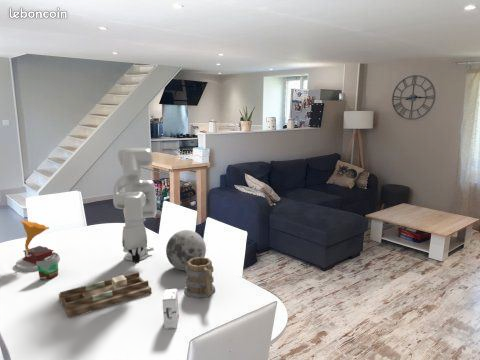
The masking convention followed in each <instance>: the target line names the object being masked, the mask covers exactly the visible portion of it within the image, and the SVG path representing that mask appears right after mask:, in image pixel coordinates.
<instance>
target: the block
mask: <svg viewBox="0 0 480 360" xmlns="http://www.w3.org/2000/svg"><path fill="white" fill-rule="evenodd" d="M111 279H112V287H113V288H114V289H118V288H122V287H125V286H127V279H126V278H125V277H124V275H123V274H122V275H118V276H115V277H114V276H113V277H111Z"/></svg>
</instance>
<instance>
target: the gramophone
mask: <svg viewBox="0 0 480 360" xmlns="http://www.w3.org/2000/svg"><path fill="white" fill-rule="evenodd" d="M20 223H21V224H22V225H23V228H24V231H25V232H26V236H27V237H26V239H25V245H24V250H23V251H22V252H24V257H22V258H20V259H17V261H16V263H15V268H16V269H17V270H18V271H20V272H37V271H38V267H37V266H36V263H37V261H41V260H43V259H44V258H46V257H49V256H51V255H52V254H53V252H54V251H55V250H54V249H50V248H48V247H46V246H42V245H38V246H35V247H32V248H29V245H30V243H31V241H32V240H33V239H34V238H35V237H36V236H38V235H41V234H42V233H43V232H45V231H47V230H49V229H50V227H49V226H45V224H40V223H38V222H35V221H34V222H32V221H29V220H25V221H24V220H21V219H20ZM59 258H60V259H59V260H58V264H59V263H60V261H61V256H60V255H59Z"/></svg>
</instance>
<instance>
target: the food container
mask: <svg viewBox="0 0 480 360" xmlns="http://www.w3.org/2000/svg"><path fill="white" fill-rule="evenodd" d="M52 253H53V254H52V255H51V256H49V257H46V258H44V259H43V260H41V261H37V263H36V266H37V267H38V277H39V281H47V280H48V281H49V280H52V279H55V278H56V277H58V275H59V263H58V260H59V259H60V260H61V257H60V258H59V256H60V254H59V253H58V252H54V251H52Z"/></svg>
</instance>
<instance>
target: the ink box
mask: <svg viewBox="0 0 480 360" xmlns="http://www.w3.org/2000/svg"><path fill="white" fill-rule="evenodd" d="M162 311H163V325H164V326H163V328H164V329H165V330H169V329H177V328H178V324H179V318H180V312H179V295H178V289H177V288H169V289H168V288H167V289H164V293H163V297H162Z"/></svg>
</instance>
